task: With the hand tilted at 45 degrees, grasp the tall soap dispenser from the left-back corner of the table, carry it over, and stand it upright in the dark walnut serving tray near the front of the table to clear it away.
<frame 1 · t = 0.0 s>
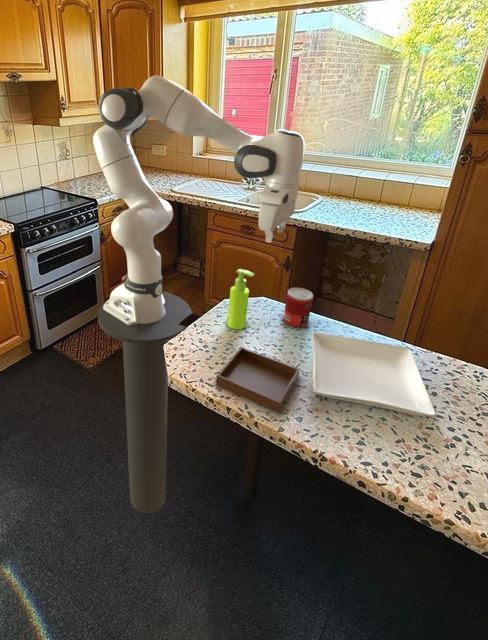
hand: (274, 236, 118), 31 cm above the countertop, tool pointing down, fingers open, 8 cm apart
tray: (257, 381, 107), on the countertop
canned food: (295, 322, 134), on the countertop
square plate: (362, 378, 109), on the countertop
soap dispenser: (237, 325, 132), on the countertop
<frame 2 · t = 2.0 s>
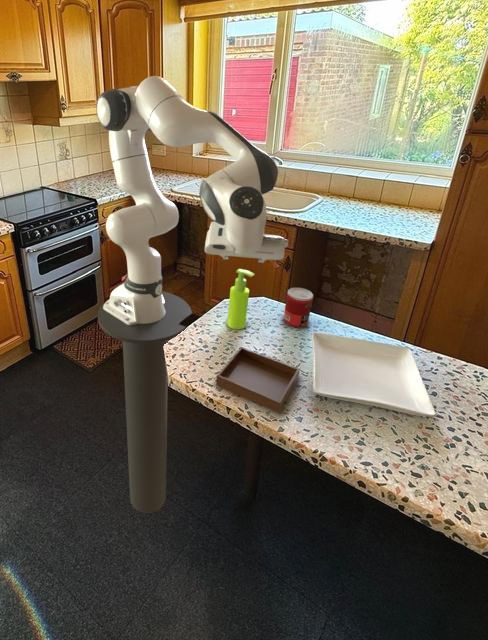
hand: (243, 258, 108), 29 cm above the countertop, tool tilted 45°, fingers open, 8 cm apart
nothing on the countertop moved.
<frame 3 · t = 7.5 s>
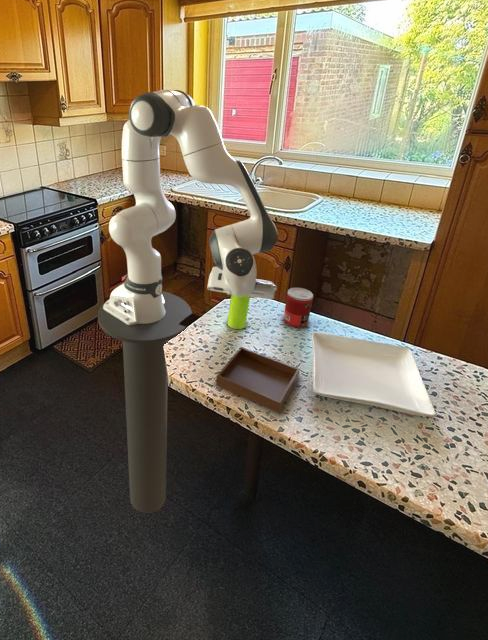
hand: (240, 294, 127), 11 cm above the countertop, tool tilted 45°, fingers closed on soap dispenser, 6 cm apart
soap dispenser: (237, 325, 132), on the countertop, touching gripper
everything else where it was.
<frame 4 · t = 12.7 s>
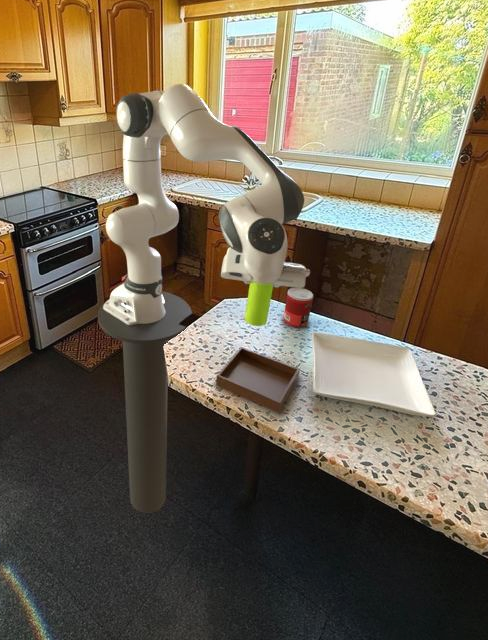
hand: (261, 282, 104), 26 cm above the countertop, tool tilted 45°, fingers closed on soap dispenser, 6 cm apart
soap dispenser: (257, 321, 108), point 14 cm above the countertop, touching gripper
everything else where it was.
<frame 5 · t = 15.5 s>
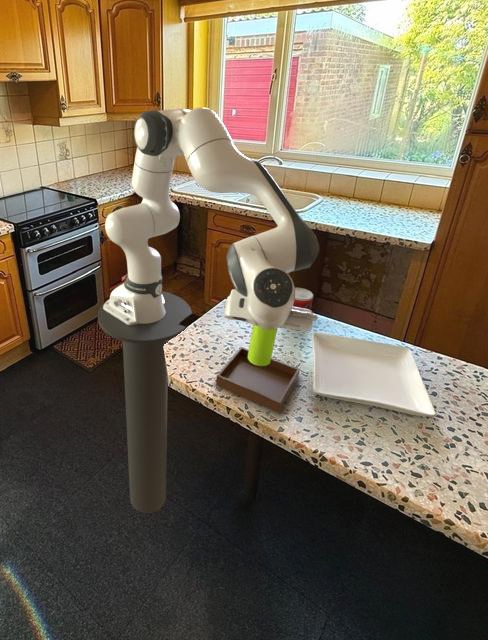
hand: (265, 322, 99), 19 cm above the countertop, tool tilted 45°, fingers closed on soap dispenser, 6 cm apart
soap dispenser: (260, 360, 104), point 7 cm above the countertop, touching gripper
everything else where it was.
when the fingers open (12 cm above the countertop, at t = 17.9 s): soap dispenser stays where it is, resting on tray.
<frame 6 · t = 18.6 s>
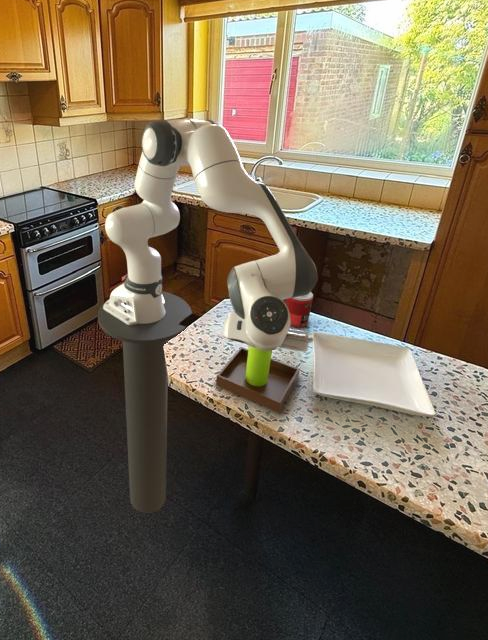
hand: (263, 341, 102), 13 cm above the countertop, tool tilted 45°, fingers open, 8 cm apart
soap dispenser: (257, 380, 107), point 1 cm above the countertop, touching tray
everything else where it was.
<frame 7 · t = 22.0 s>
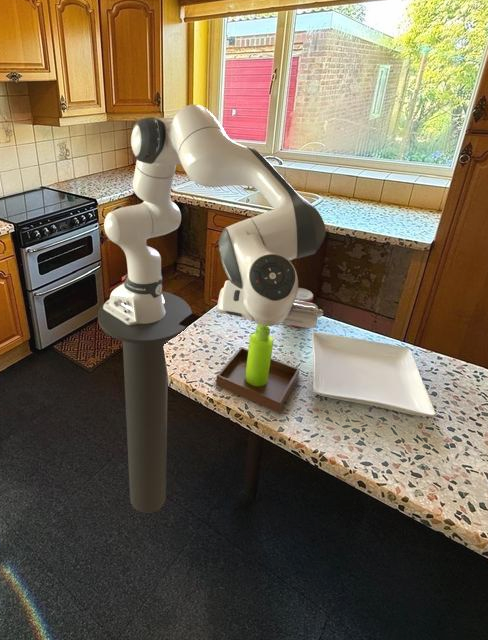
hand: (264, 317, 89), 26 cm above the countertop, tool tilted 45°, fingers open, 8 cm apart
nothing on the countertop moved.
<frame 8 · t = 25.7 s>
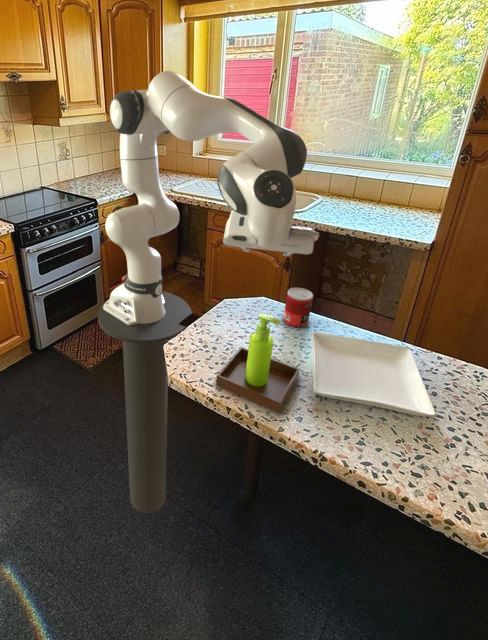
hand: (266, 251, 98), 35 cm above the countertop, tool tilted 45°, fingers open, 8 cm apart
nothing on the countertop moved.
at the end: soap dispenser inside the target area in the tray (0.1 cm from its centre), point 0.6 cm above the tray's base; soap dispenser tilted 0°; the gripper is holding nothing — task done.
